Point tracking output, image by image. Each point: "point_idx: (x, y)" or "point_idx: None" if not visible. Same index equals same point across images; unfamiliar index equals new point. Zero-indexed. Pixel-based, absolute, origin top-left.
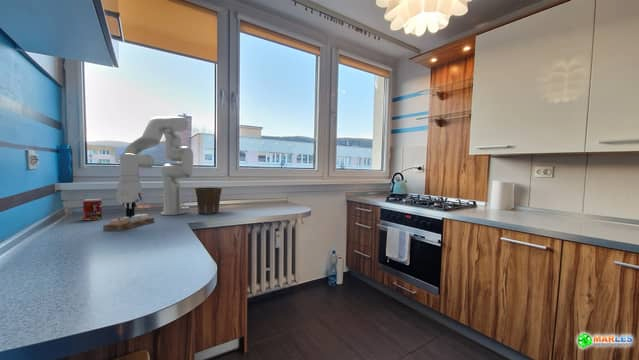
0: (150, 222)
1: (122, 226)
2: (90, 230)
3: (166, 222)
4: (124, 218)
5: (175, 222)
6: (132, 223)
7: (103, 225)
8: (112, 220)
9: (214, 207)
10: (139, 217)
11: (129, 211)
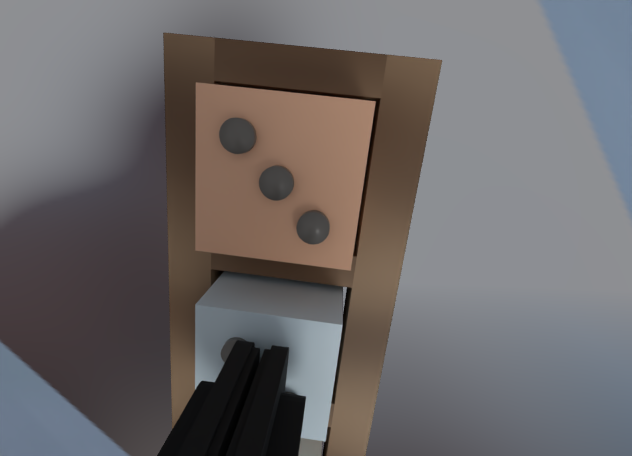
0: None
1: (172, 77)
2: (591, 70)
3: (77, 447)
4: (302, 313)
5: (3, 445)
6: (173, 238)
7: (438, 61)
8: (327, 97)
9: None
10: None
11: (201, 412)
